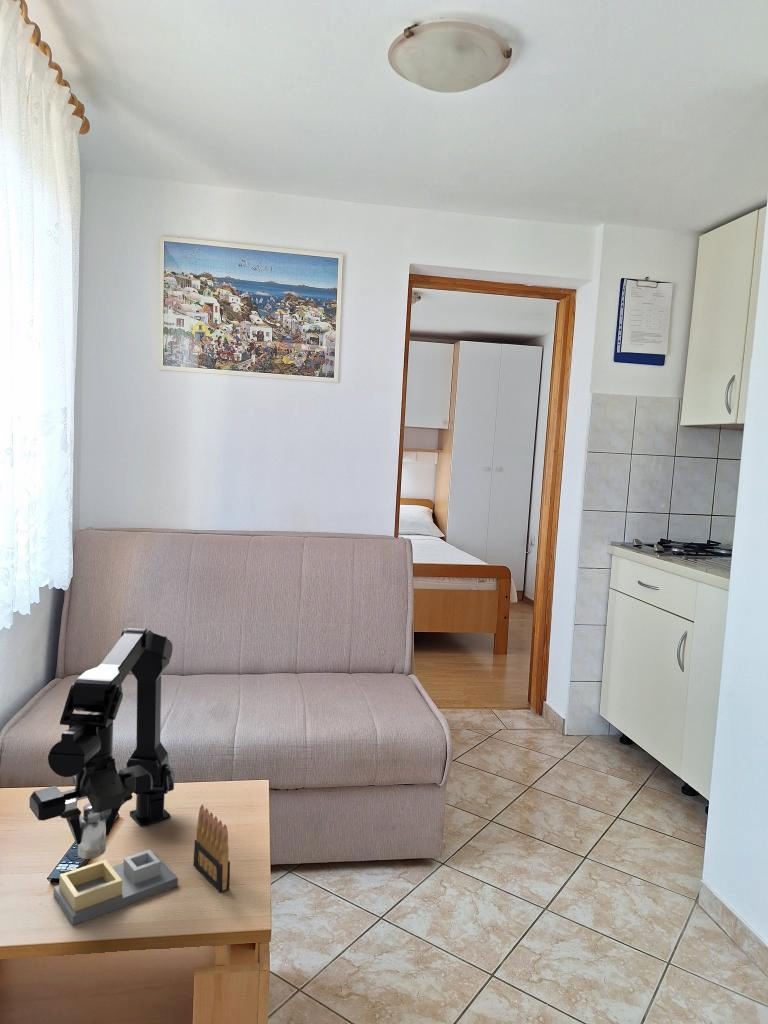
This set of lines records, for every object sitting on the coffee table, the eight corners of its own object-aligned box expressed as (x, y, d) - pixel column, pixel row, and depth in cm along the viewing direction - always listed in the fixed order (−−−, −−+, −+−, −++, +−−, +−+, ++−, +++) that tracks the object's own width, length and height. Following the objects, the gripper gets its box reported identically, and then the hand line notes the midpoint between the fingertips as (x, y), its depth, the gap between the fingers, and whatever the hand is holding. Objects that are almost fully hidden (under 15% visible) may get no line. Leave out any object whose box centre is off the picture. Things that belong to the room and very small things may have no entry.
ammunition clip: (229, 889, 125) (232, 825, 125) (220, 893, 124) (222, 828, 123) (202, 862, 134) (204, 801, 133) (193, 865, 132) (195, 803, 131)
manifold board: (53, 894, 121) (54, 872, 121) (154, 860, 133) (154, 839, 133) (72, 925, 114) (73, 901, 114) (177, 885, 126) (178, 864, 125)
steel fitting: (74, 849, 120) (75, 804, 120) (100, 841, 123) (101, 797, 123) (82, 861, 117) (84, 815, 116) (109, 853, 120) (110, 807, 119)
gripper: (50, 783, 107) (48, 881, 108) (167, 753, 119) (164, 842, 120) (29, 757, 115) (27, 848, 116) (141, 732, 127) (138, 815, 128)
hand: (92, 839), depth 120 cm, fingers closed on steel fitting, 4 cm apart
